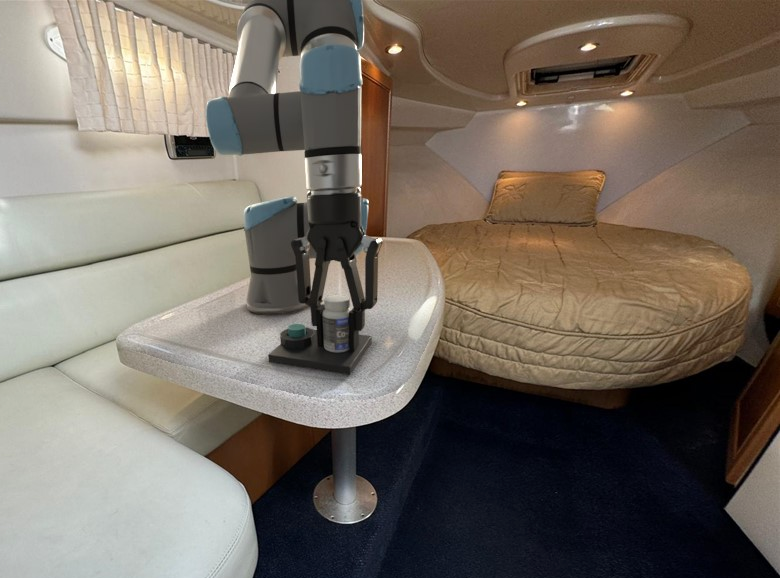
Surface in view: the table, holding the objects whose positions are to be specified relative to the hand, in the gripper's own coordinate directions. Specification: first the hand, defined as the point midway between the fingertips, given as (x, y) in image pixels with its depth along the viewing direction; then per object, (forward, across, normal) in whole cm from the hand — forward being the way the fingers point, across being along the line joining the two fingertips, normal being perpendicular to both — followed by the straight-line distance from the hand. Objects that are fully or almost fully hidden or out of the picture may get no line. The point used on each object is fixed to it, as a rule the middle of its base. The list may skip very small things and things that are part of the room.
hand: (338, 345), depth 60 cm
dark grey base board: (+2, -3, 0) cm, 3 cm away
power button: (-1, -8, 0) cm, 8 cm away
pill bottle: (+1, 0, 0) cm, 1 cm away
